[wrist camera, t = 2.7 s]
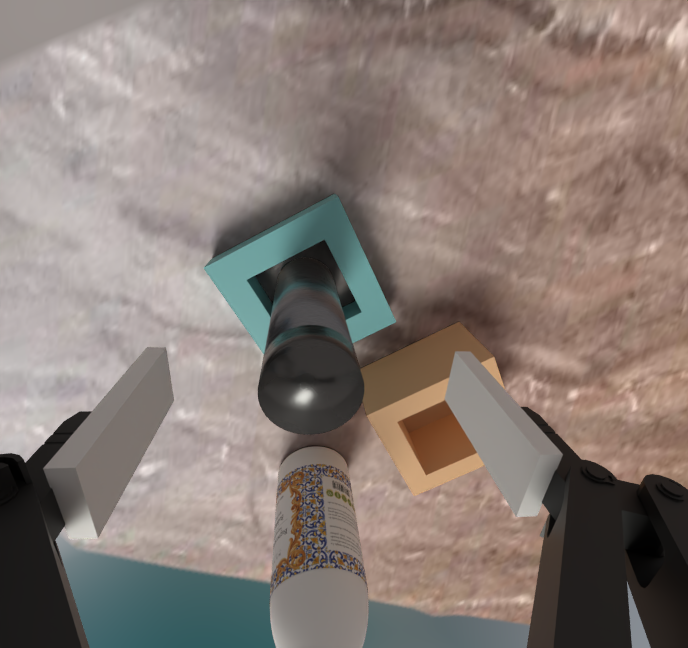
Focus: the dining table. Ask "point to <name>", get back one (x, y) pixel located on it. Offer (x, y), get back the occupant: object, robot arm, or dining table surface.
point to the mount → (286, 241)
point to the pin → (309, 354)
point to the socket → (423, 408)
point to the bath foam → (317, 555)
